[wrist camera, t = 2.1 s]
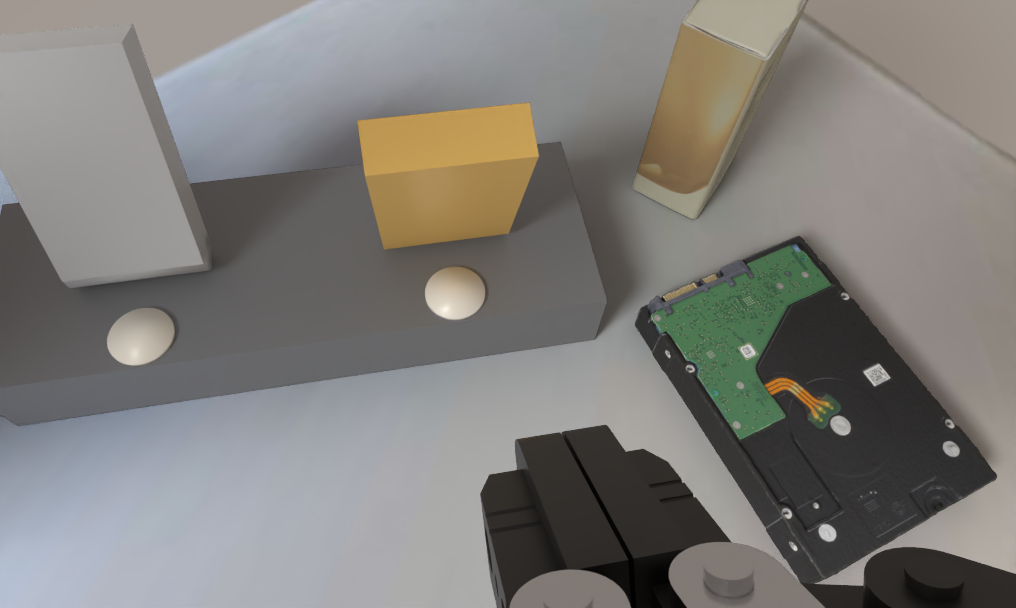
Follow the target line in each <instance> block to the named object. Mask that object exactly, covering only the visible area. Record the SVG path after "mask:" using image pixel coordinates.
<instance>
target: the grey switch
mask: <svg viewBox="0 0 1016 608" xmlns="http://www.w3.org/2000/svg"><path fill="white" fill-rule="evenodd" d="M0 168H1V170H2V172H3V174H4V176H5V177H6V179H7V181H8V183H9V185H10V187H11V189H12V190H13V192H14V194H15V196H16V198H17V200H18V201H19V203H20V205H21V207H22V209H23V211H24V212H25V214H26V216H27V218H28V220H29V222H30V224H31V225H32V227H33V229H34V231H35V233H36V235H37V236H38V238H39V240H40V242H41V244H42V246H43V248H44V249H45V251H46V253H47V255H48V257H49V259H50V260H51V262H52V264H53V266H54V268H55V270H56V271H57V273H58V275H59V277H60V279H61V281H62V282H64V283H65V285H66V286H67V287H69V288H77V287H85V286H93V285H100V284H108V283H116V282H124V281H132V280H139V279H147V278H155V277H163V276H171V275H178V274H186V273H194V272H202V271H210V270H211V269H212V264H213V258H212V250H211V245H210V242H209V237H208V234H207V231H206V228H205V226H204V223H203V220H202V217H201V214H200V211H199V209H198V206H197V203H196V200H195V197H194V195H193V192H192V189H191V186H190V183H189V181H188V178H187V175H186V172H185V169H184V166H183V164H182V161H181V158H180V155H179V152H178V150H177V147H176V144H175V141H174V138H173V135H172V133H171V130H170V127H169V124H168V121H167V119H166V116H165V113H164V110H163V107H162V105H161V102H160V99H159V96H158V93H157V90H156V88H155V85H154V82H153V79H152V76H151V74H150V71H149V68H148V65H147V62H146V59H145V57H144V54H143V51H142V48H141V46H140V43H139V40H138V37H137V34H136V31H135V29H134V26H133V24H124V25H113V26H100V27H89V28H77V29H65V30H53V31H41V32H29V33H17V34H6V35H0Z"/></svg>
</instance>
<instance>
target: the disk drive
mask: <svg viewBox="0 0 1016 608" xmlns="http://www.w3.org/2000/svg"><path fill="white" fill-rule="evenodd" d="M635 326H636V328H637V329H638V331H639V332H640V334H641V335H642V337H643V338H644V340H645V341H646V343H647V345H648V346H649V348H650V350H651V351H652V353H653V356H654V357H655V359H656V360H657V362H658V363H659V365H660V367H661V368H662V370H663V371H664V372H665V373H666V374H667V376H668V377H669V379H670V381H671V382H672V384H673V385H674V387H675V388H676V390H677V391H678V393H679V395H680V396H681V397H682V399H683V401H684V402H685V404H686V405H687V407H688V408H689V410H690V411H691V413H692V414H693V416H694V418H695V419H696V420H697V422H698V424H699V425H700V427H701V428H702V430H703V432H704V433H705V435H706V436H707V438H708V439H709V441H710V443H711V444H712V445H713V447H714V449H715V450H716V452H717V454H718V455H719V456H720V458H721V460H722V461H723V463H724V464H725V466H726V467H727V469H728V471H729V472H730V473H731V475H732V476H733V478H734V479H735V481H736V482H737V484H738V486H739V487H740V489H741V490H742V492H743V494H744V495H745V497H746V498H747V499H748V501H749V503H750V504H751V506H752V507H753V509H754V511H755V512H756V514H757V515H758V517H759V518H760V520H761V521H762V523H763V525H764V526H765V527H766V531H767V533H768V534H769V536H770V537H771V539H772V541H773V542H774V544H775V545H776V547H777V548H778V549H779V551H780V553H781V554H782V556H783V558H784V559H786V560H787V562H788V563H789V565H790V567H791V568H792V570H793V571H794V573H795V574H796V575H797V577H798V579H799V581H800V582H801V583H808V584H814V583H817V582H820V581H822V580H824V579H827V578H829V577H831V576H832V575H834V574H837V573H838V572H840V571H841V570H843V569H845V568H847V567H848V566H850V565H851V564H853V563H855V562H856V561H858V560H860V559H861V558H863V557H865V556H866V555H868V554H869V553H871V552H873V551H875V550H876V549H878V548H880V547H882V546H883V545H885V544H887V543H889V542H891V541H893V540H894V539H896V538H897V537H899V536H900V535H902V534H904V533H906V532H907V531H909V530H910V529H912V528H914V527H916V526H918V525H919V524H921V523H923V522H925V521H926V520H928V519H929V518H930V517H932V516H934V515H936V514H937V513H938V512H939V511H942V510H944V509H945V508H947V507H948V506H950V505H952V504H954V503H956V502H958V501H959V500H961V499H964V498H965V497H967V496H968V495H970V494H972V493H973V492H975V491H977V490H979V489H981V488H982V487H984V486H985V485H987V484H989V483H990V482H992V481H994V480H996V478H997V474H996V473H995V472H994V471H993V470H992V469H991V467H990V466H989V465H988V463H987V462H986V460H985V459H984V458H983V457H982V455H981V454H980V452H979V450H978V449H977V448H976V447H975V445H974V444H973V443H972V442H971V441H970V440H969V438H968V437H967V436H966V434H965V433H964V432H963V431H962V430H961V429H960V427H959V426H957V425H955V424H954V423H953V420H952V419H951V417H950V416H949V415H948V414H947V413H946V411H945V410H944V409H943V408H942V406H941V405H940V404H939V402H938V401H937V400H936V399H935V398H934V397H933V396H932V395H931V393H930V392H929V391H928V390H927V388H926V387H925V386H924V385H923V384H922V383H921V381H920V380H919V379H918V378H917V376H916V375H915V374H914V373H913V372H912V370H911V369H910V368H909V366H908V365H907V364H906V363H905V362H904V361H903V359H902V358H901V357H900V356H899V355H898V354H897V353H896V352H895V350H894V349H893V348H892V347H891V345H890V344H889V343H888V342H887V340H886V338H885V337H884V336H883V335H881V333H880V332H879V331H878V329H877V328H876V327H875V326H874V325H873V324H872V322H871V321H870V319H869V318H868V316H866V315H865V313H864V312H863V311H862V310H861V309H860V307H859V305H858V304H857V303H856V302H855V301H854V300H853V299H852V298H851V297H850V296H849V294H848V293H847V292H846V291H845V289H844V288H843V287H842V286H841V285H840V283H839V281H838V280H837V278H836V277H835V276H834V275H833V274H832V272H831V271H830V270H829V269H828V267H827V266H826V265H825V264H824V263H823V262H822V261H820V259H818V257H817V255H816V254H815V253H814V252H813V250H812V249H811V248H810V247H809V246H808V244H806V243H805V240H803V239H802V238H801V237H800V236H797V237H794V238H792V239H789V240H787V241H785V242H782V243H780V244H778V245H776V246H773V247H771V248H768V249H767V250H764V251H761V252H759V253H757V254H754V255H752V256H750V257H748V258H745V259H744V260H743V261H742V260H738V261H736V262H733V263H731V264H729V265H727V266H724V267H722V268H721V271H720V272H718V273H717V274H714V273H713V274H711V275H708V276H706V277H704V278H702V279H699V282H697V283H696V282H695V281H694V282H692V283H690V284H688V285H686V286H683V287H681V288H679V289H677V290H674V291H672V292H669V293H667V294H665V295H663V296H662V298H661V299H660V297H659V296H656V297H655V298H654V299H653V300H651V301H650V303H649V304H648V305H645V306H644V307H642V308H641V309H640V311H639V313H638V316H637V319H636V321H635Z"/></svg>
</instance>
